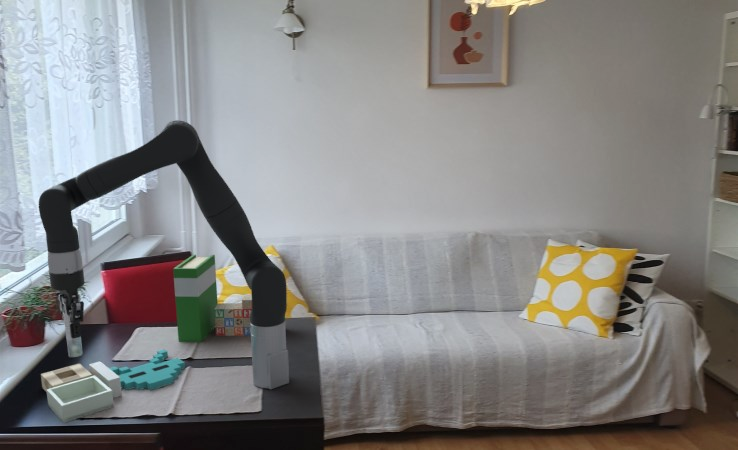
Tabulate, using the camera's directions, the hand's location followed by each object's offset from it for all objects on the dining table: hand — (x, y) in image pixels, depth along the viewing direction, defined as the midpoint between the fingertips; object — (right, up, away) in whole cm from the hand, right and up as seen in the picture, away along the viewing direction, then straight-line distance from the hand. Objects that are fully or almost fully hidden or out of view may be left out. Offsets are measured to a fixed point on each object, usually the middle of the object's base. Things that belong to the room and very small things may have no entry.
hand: (73, 335), depth 161 cm
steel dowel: (0, -5, +1) cm, 5 cm away
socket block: (-8, -17, +14) cm, 23 cm away
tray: (0, -19, +4) cm, 19 cm away
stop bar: (+3, -17, +14) cm, 21 cm away
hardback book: (+17, -8, +54) cm, 57 cm away
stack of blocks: (+34, -8, +53) cm, 64 cm away
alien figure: (+11, -15, +22) cm, 29 cm away
